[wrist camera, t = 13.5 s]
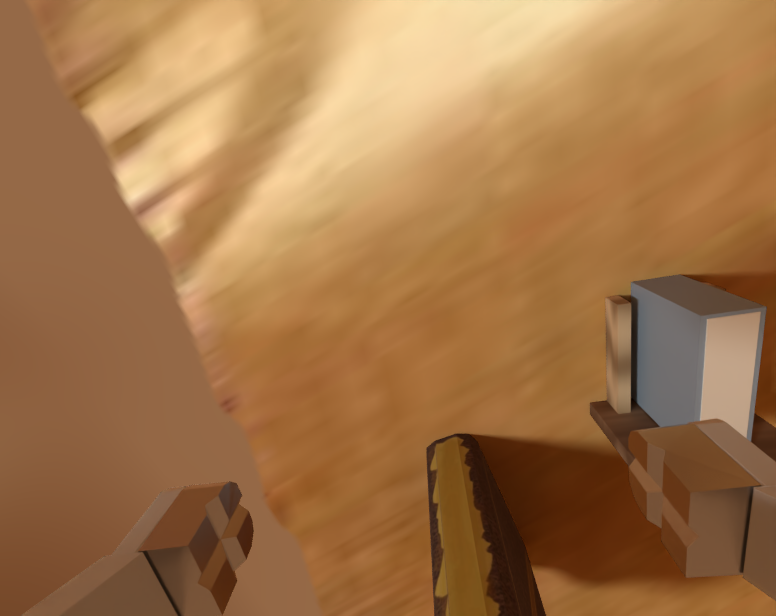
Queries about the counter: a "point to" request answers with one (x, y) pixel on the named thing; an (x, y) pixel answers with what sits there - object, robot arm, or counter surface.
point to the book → (474, 538)
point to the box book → (695, 352)
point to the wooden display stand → (620, 408)
